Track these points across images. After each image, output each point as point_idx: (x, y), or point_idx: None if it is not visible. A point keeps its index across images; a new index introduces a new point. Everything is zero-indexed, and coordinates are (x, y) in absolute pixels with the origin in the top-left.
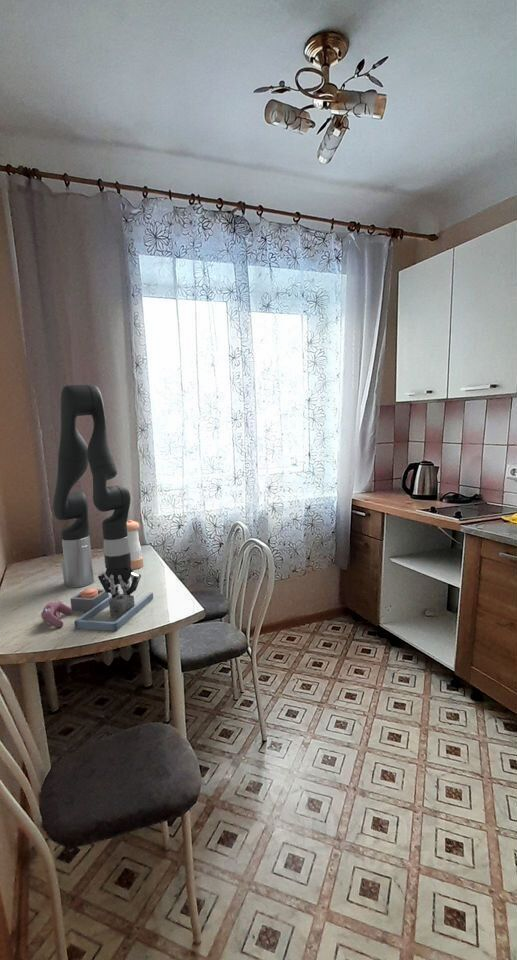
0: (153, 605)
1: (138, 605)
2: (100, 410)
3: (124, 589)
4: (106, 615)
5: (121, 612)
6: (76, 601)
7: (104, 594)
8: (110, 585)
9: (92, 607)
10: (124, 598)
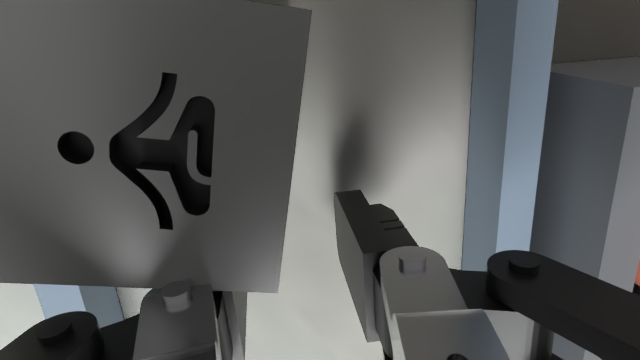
0: (8, 343)
1: None
2: None
3: (166, 348)
4: (350, 26)
5: None
6: None
7: None
8: (491, 336)
9: (577, 70)
10: (79, 162)
